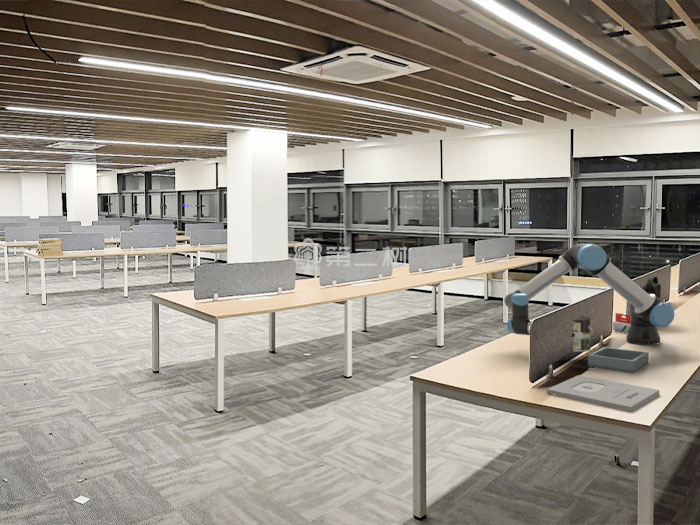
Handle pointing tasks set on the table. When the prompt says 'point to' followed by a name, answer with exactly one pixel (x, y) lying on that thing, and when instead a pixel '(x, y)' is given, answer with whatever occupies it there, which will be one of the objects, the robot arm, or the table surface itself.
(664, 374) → the table surface
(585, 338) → the coffee can
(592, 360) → the tray
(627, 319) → the ink cartridge box
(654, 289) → the shoulder bag
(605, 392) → the award plaque
